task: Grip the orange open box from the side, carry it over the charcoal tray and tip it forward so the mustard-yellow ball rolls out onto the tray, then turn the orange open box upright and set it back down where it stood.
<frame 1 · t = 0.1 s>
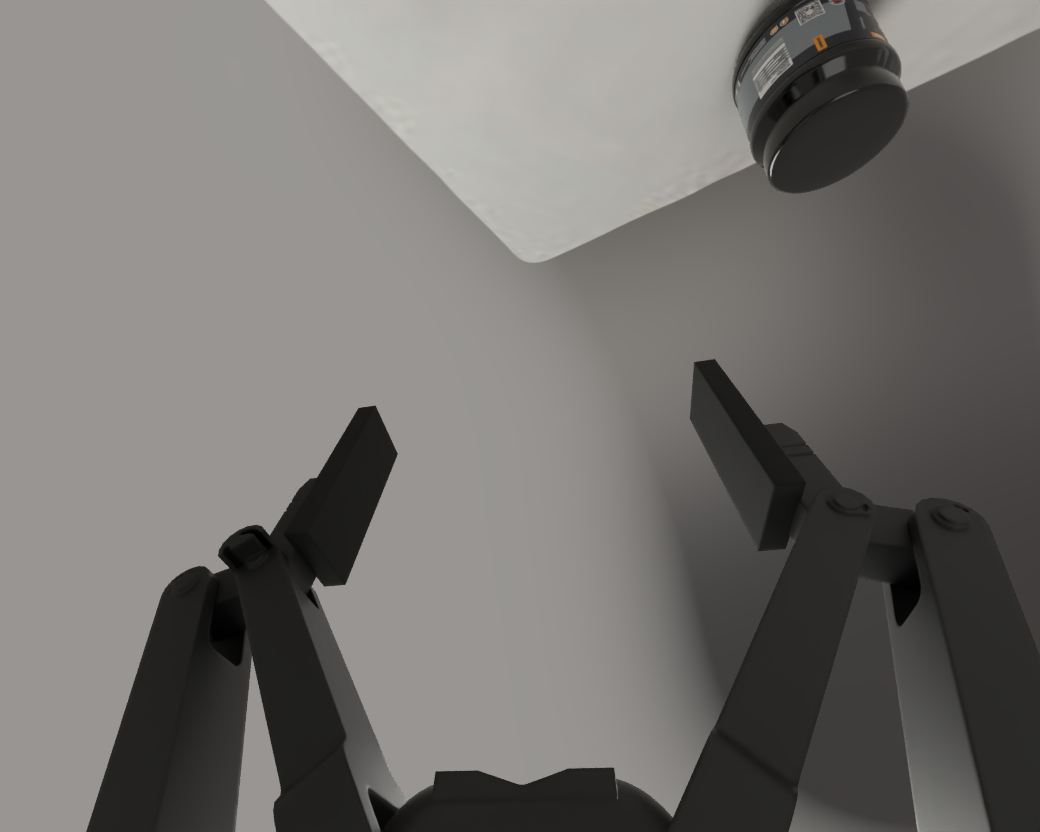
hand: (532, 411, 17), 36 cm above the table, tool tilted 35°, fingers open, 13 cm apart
supplement container: (791, 48, 38), on the table
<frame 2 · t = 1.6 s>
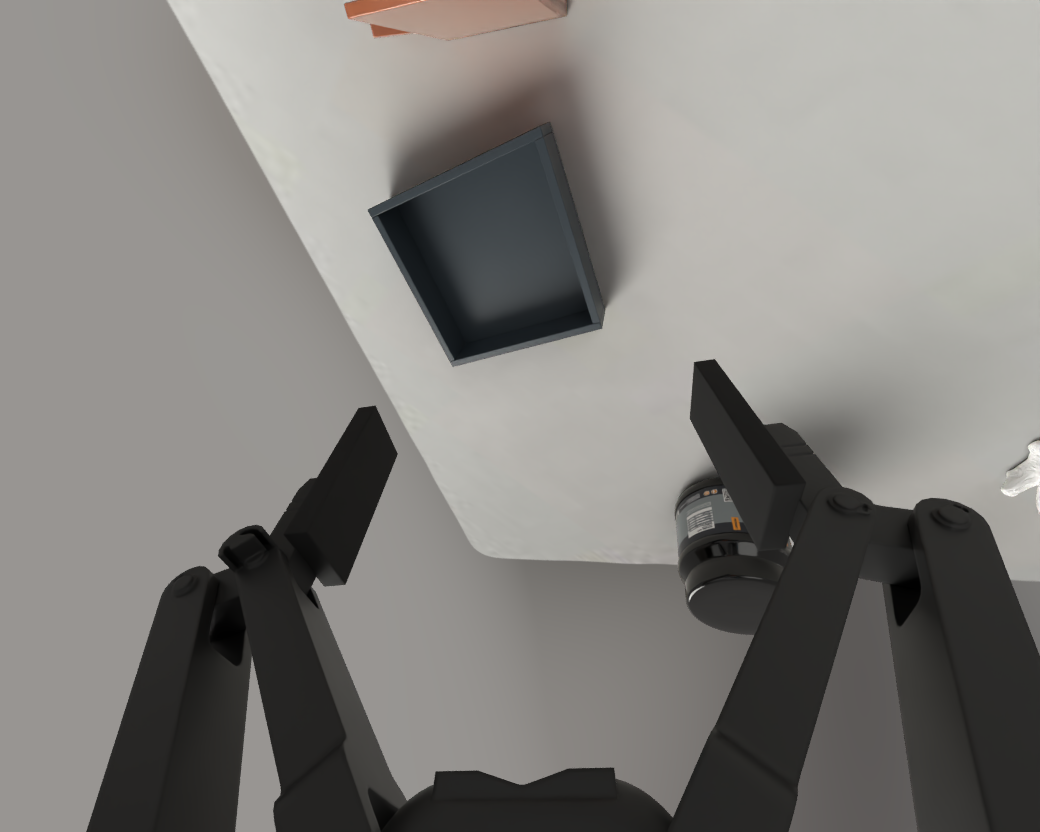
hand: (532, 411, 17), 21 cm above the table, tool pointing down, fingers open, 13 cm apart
tray: (499, 256, 35), on the table
supplement container: (723, 504, 46), on the table
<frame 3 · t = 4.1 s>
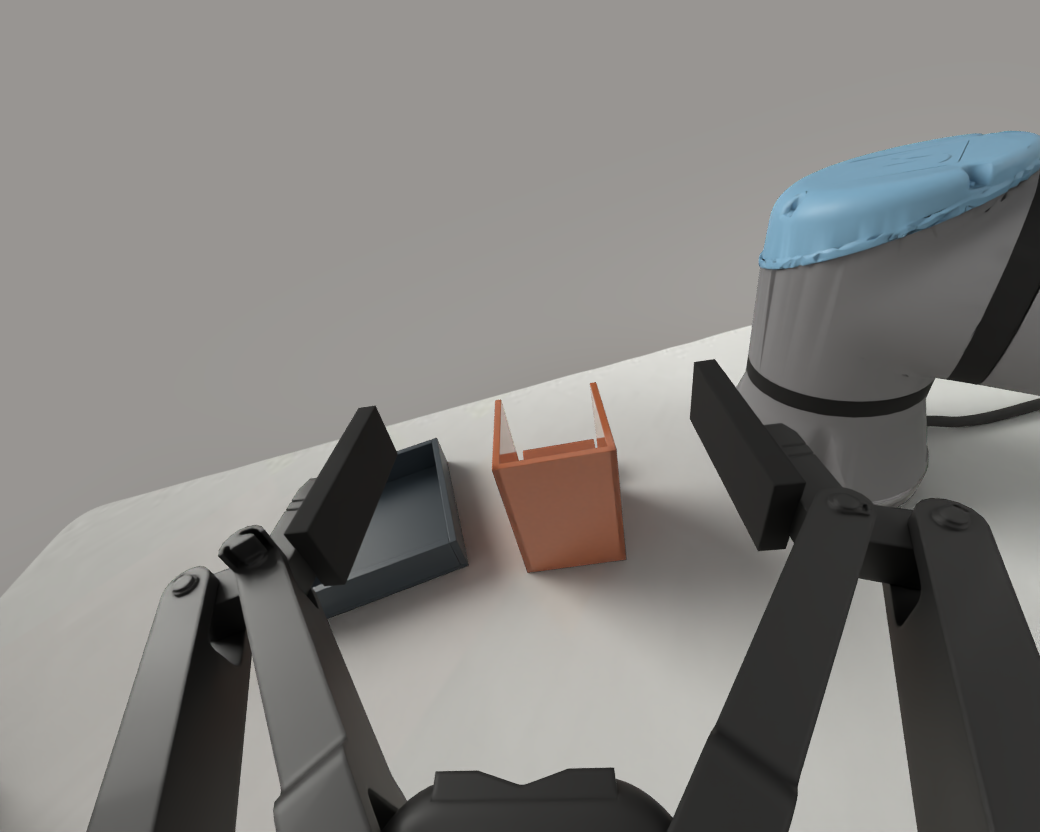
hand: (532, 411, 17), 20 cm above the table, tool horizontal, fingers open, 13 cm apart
orange open box: (570, 526, 37), on the table, touching ball
tray: (386, 531, 40), on the table
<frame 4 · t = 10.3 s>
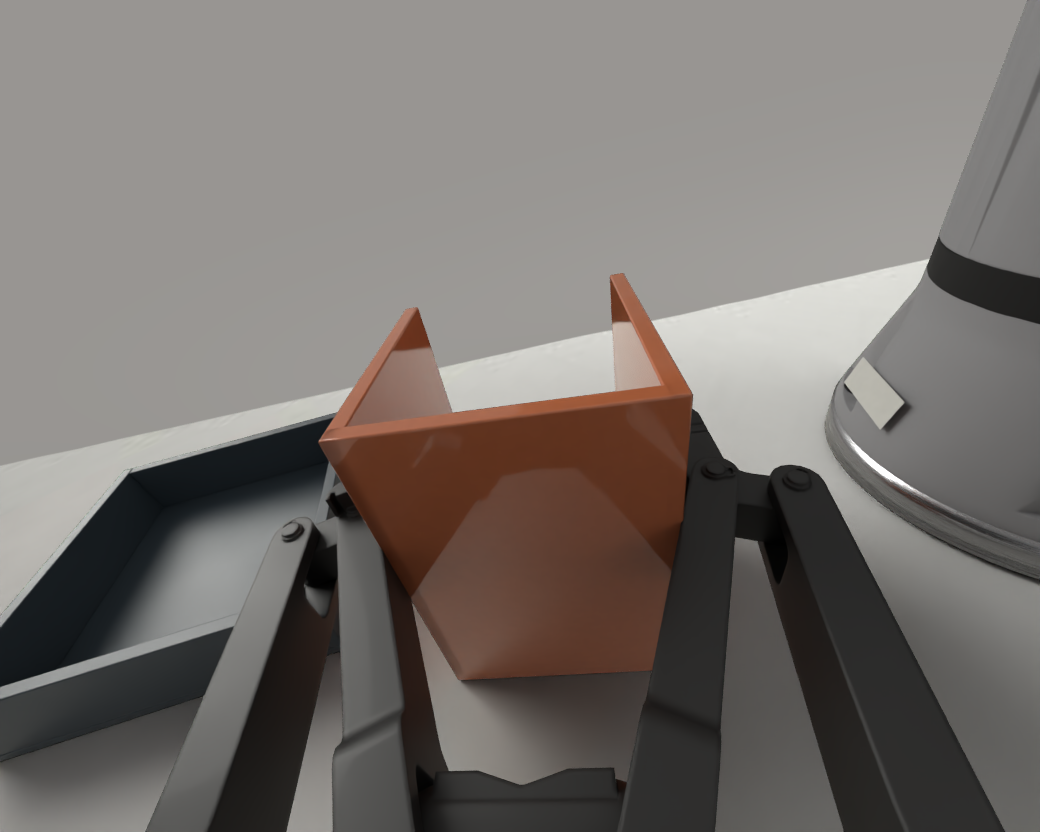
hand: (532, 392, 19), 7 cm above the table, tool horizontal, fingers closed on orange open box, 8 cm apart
orange open box: (556, 578, 19), on the table, touching ball, gripper
tray: (234, 563, 23), on the table
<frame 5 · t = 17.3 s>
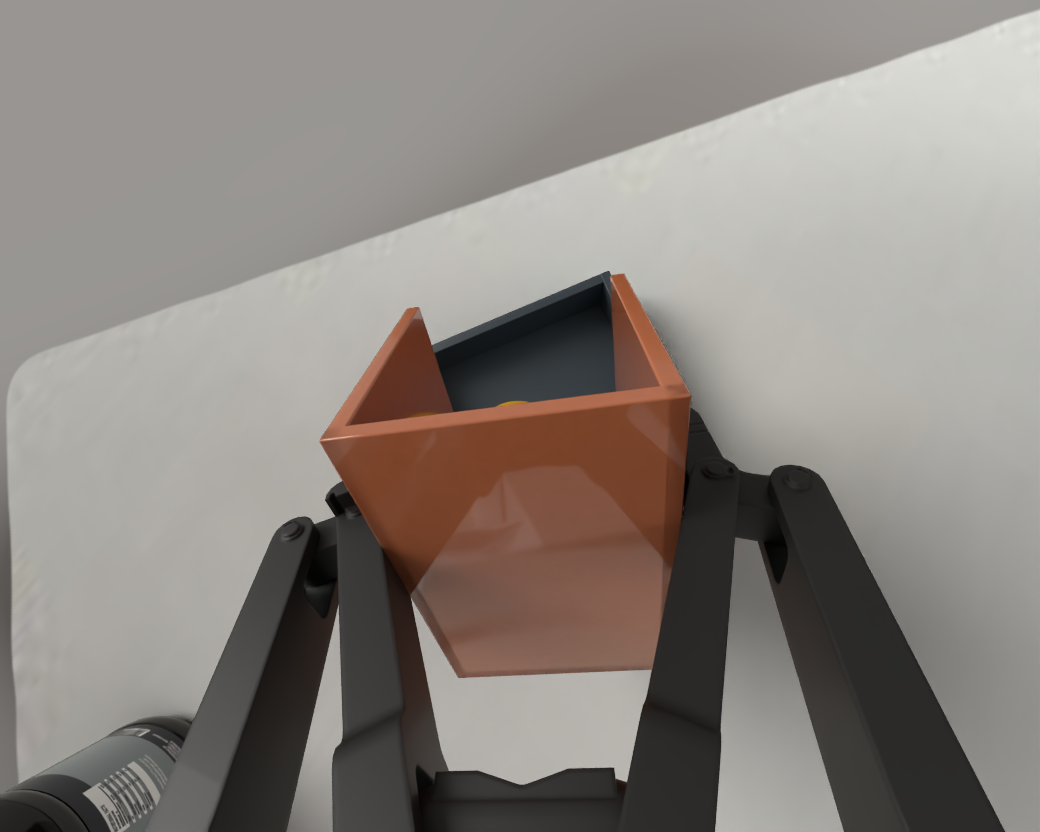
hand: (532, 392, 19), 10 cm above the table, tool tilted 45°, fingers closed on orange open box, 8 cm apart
orange open box: (556, 577, 19), point 8 cm above the table, tilted 45°, touching ball, gripper
tray: (548, 426, 28), on the table
supplement container: (167, 791, 28), on the table
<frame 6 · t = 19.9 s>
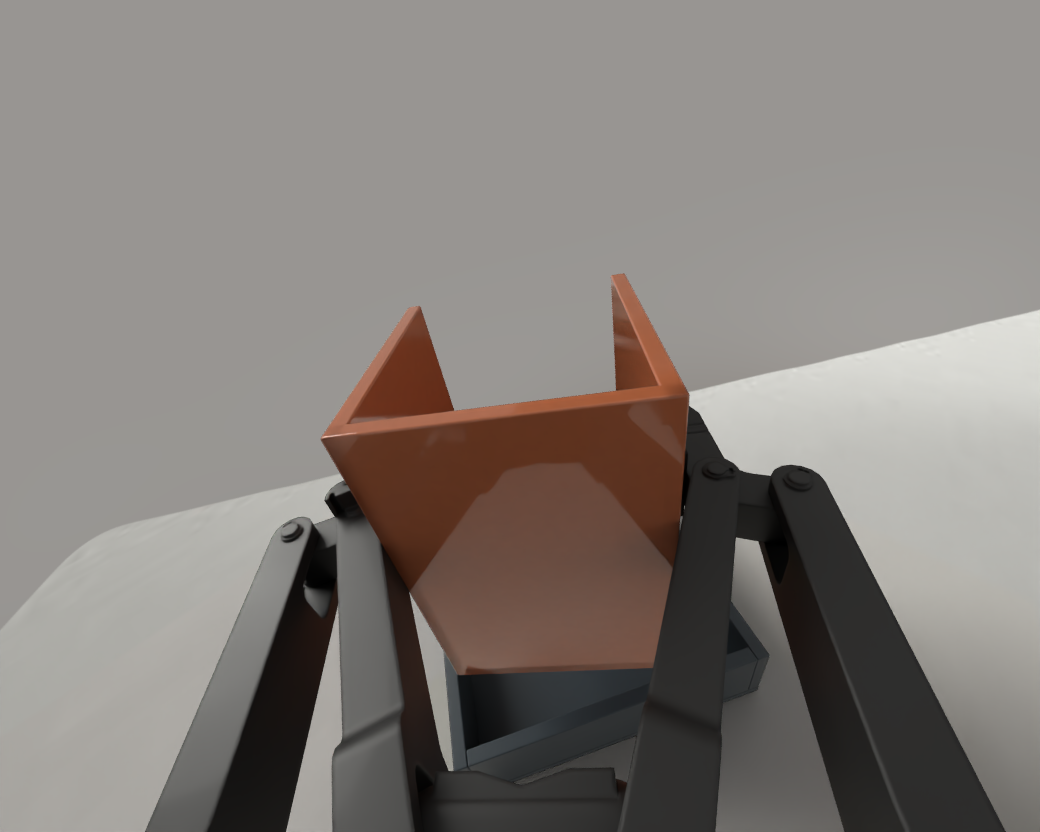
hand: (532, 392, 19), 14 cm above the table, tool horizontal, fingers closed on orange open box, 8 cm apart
orange open box: (556, 576, 19), point 7 cm above the table, touching gripper
tray: (570, 604, 25), on the table
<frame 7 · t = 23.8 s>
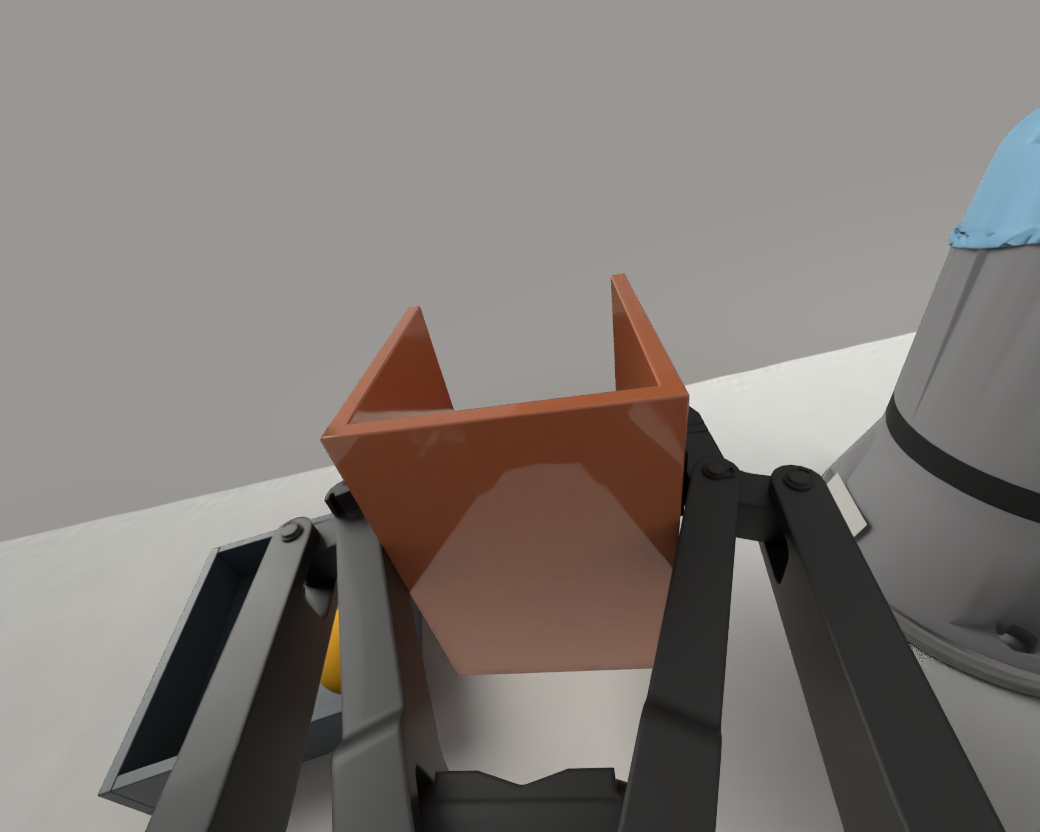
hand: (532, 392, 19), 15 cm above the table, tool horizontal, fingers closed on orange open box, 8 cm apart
orange open box: (556, 576, 19), point 8 cm above the table, touching gripper
ball: (357, 646, 23), point 3 cm above the table, tilted 128°, touching tray
tray: (315, 634, 27), on the table
when the fingers open (7 cm above the table, at t = 26.4 s): orange open box stays where it is, on the table.
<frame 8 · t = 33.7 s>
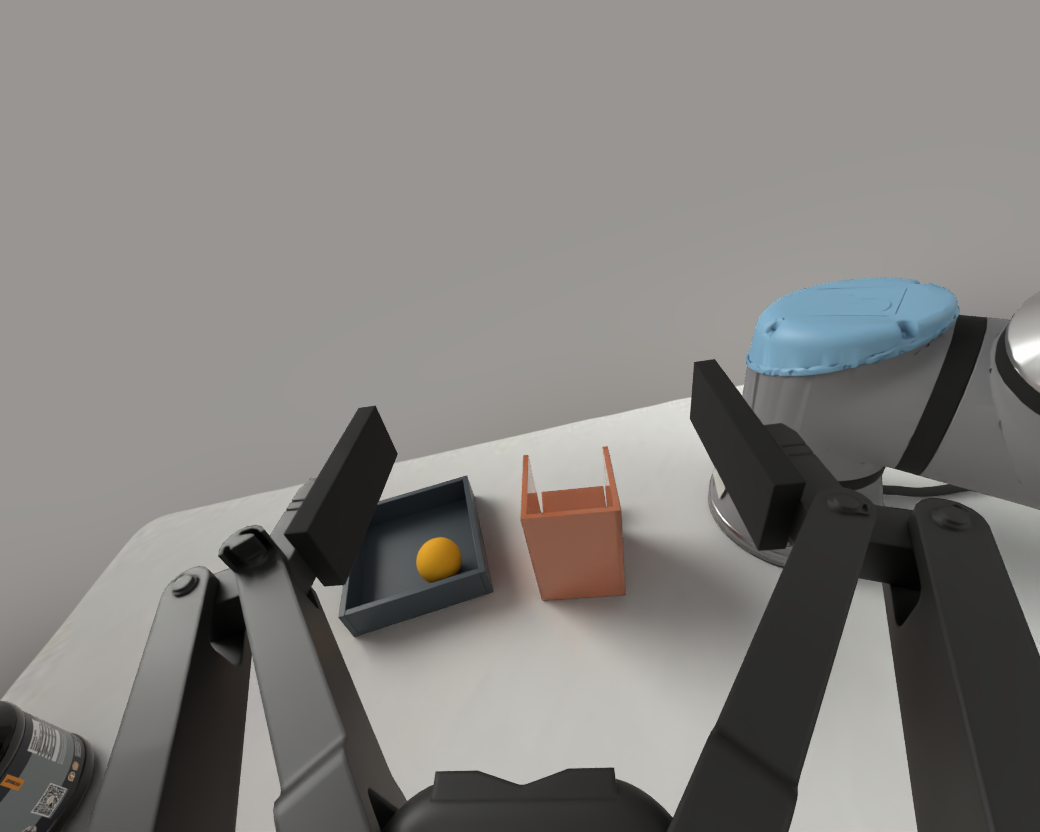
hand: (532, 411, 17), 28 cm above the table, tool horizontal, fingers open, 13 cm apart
orange open box: (579, 561, 43), on the table
ball: (439, 560, 43), point 3 cm above the table, tilted 155°, touching tray
tray: (422, 556, 47), on the table
supplement container: (25, 819, 33), on the table
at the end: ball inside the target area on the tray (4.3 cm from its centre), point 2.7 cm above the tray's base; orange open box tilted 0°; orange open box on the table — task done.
